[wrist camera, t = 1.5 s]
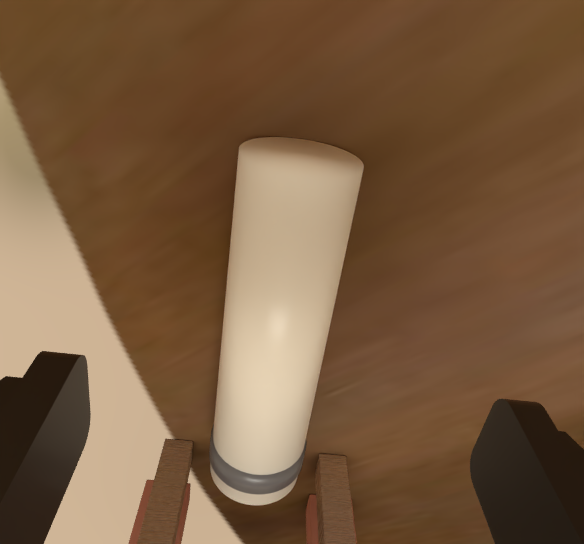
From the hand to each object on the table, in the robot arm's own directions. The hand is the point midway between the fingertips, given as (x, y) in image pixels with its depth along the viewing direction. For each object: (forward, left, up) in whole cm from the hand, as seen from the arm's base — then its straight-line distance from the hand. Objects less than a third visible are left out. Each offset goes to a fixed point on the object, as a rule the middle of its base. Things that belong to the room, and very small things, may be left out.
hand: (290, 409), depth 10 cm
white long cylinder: (0, +6, -12) cm, 14 cm away
